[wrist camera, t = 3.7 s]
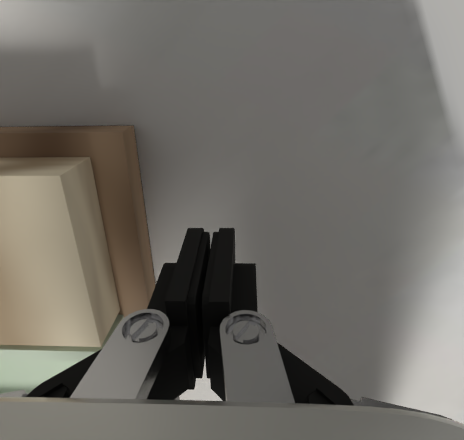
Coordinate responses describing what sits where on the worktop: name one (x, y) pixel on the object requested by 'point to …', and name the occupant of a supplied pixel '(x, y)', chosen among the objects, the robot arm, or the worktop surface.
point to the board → (103, 195)
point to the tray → (40, 362)
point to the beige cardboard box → (53, 255)
